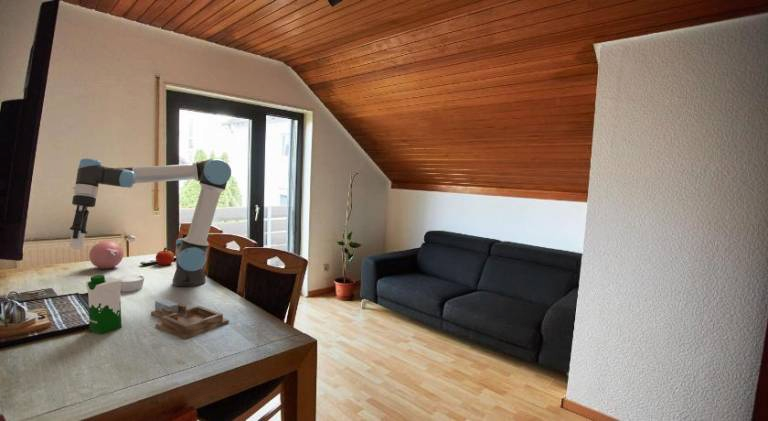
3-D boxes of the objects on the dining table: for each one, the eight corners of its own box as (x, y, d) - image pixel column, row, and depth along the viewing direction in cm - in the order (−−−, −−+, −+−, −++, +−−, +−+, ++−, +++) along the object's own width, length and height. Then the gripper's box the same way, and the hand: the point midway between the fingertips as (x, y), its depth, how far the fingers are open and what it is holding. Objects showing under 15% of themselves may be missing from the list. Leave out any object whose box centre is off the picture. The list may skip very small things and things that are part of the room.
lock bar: (164, 306, 159) (163, 298, 159) (178, 312, 154) (178, 303, 154) (155, 309, 156) (155, 301, 155) (169, 315, 151) (169, 306, 151)
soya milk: (85, 330, 138) (82, 276, 135) (111, 322, 146) (110, 270, 144) (99, 336, 134) (97, 280, 132) (126, 327, 142) (124, 274, 140)
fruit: (151, 265, 224) (151, 248, 222) (163, 262, 233) (163, 245, 232) (166, 267, 222) (166, 250, 221) (177, 263, 231) (177, 247, 230)
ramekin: (147, 289, 184) (147, 278, 183) (119, 294, 175) (119, 283, 175) (140, 284, 191) (140, 273, 191) (113, 288, 183) (113, 277, 182)
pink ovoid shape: (95, 275, 201) (94, 246, 199) (86, 267, 214) (85, 240, 212) (129, 270, 212) (129, 243, 211) (119, 263, 226) (118, 237, 224)
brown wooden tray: (180, 305, 165) (180, 296, 165) (228, 322, 150) (228, 312, 150) (136, 318, 150) (136, 308, 149) (184, 339, 134) (184, 327, 134)
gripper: (77, 199, 166) (68, 248, 163) (69, 189, 145) (58, 245, 142) (98, 201, 170) (90, 250, 167) (93, 192, 149) (84, 247, 146)
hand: (75, 248), depth 154 cm, fingers open, 13 cm apart
